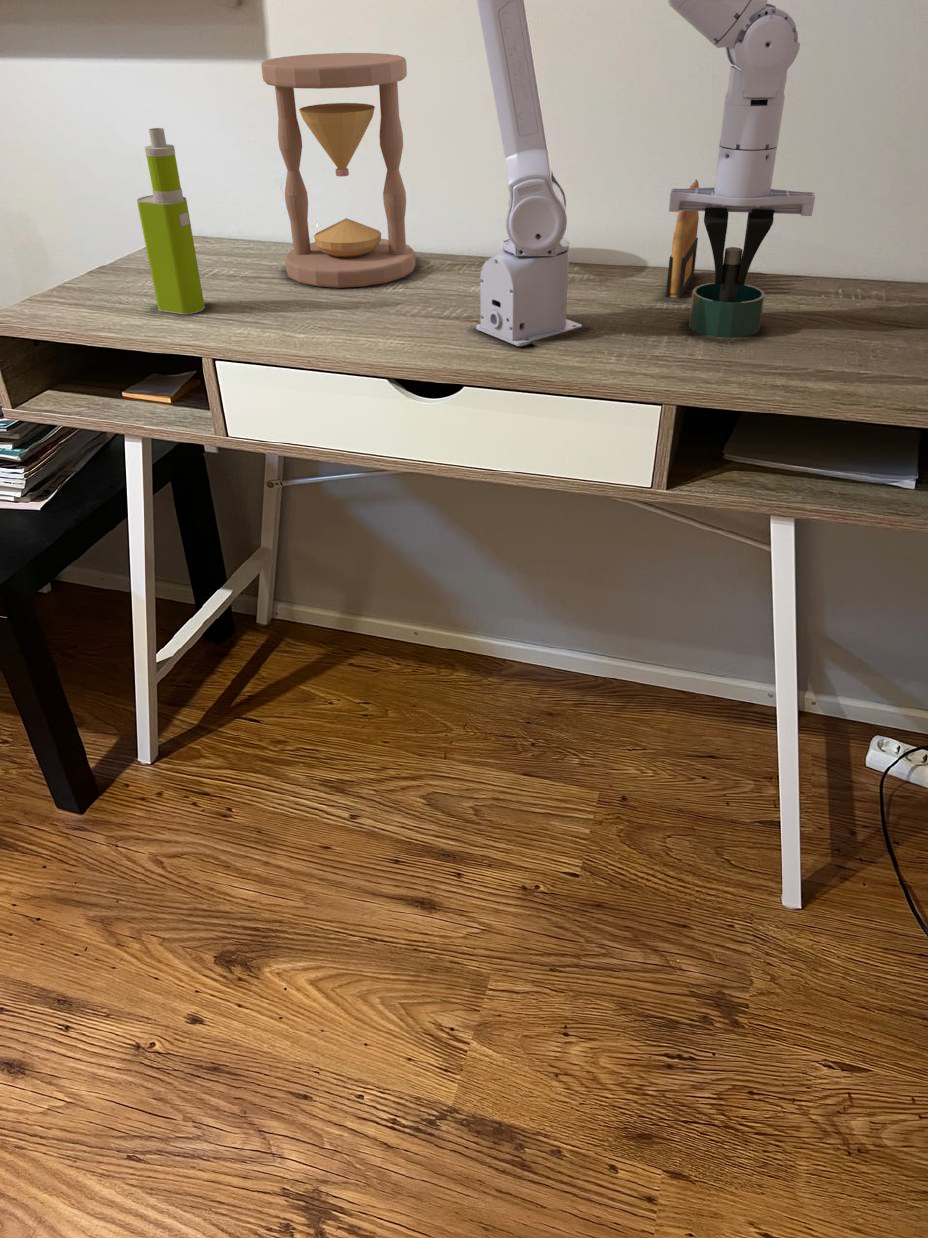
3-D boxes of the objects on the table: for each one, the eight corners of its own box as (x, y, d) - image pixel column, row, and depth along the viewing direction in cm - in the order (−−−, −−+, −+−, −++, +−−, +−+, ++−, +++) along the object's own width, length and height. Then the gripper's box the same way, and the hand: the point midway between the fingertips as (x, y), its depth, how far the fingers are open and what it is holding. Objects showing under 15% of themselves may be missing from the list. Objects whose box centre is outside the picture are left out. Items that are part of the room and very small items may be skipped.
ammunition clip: (680, 301, 118) (691, 196, 111) (664, 300, 119) (675, 195, 112) (693, 277, 126) (705, 178, 120) (679, 276, 127) (689, 177, 120)
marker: (724, 328, 108) (734, 252, 103) (712, 324, 109) (721, 248, 105) (735, 325, 109) (746, 249, 104) (722, 321, 110) (732, 245, 105)
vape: (191, 315, 118) (159, 132, 106) (153, 309, 120) (116, 129, 108) (211, 306, 120) (181, 127, 109) (172, 301, 122) (139, 124, 111)
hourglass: (263, 283, 128) (234, 65, 114) (318, 249, 142) (298, 51, 128) (389, 292, 124) (375, 67, 109) (432, 256, 137) (425, 52, 123)
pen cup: (745, 346, 105) (750, 306, 103) (677, 334, 109) (681, 296, 106) (768, 325, 110) (774, 288, 108) (703, 315, 114) (707, 278, 111)
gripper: (820, 140, 100) (797, 274, 108) (677, 137, 103) (664, 269, 111) (825, 152, 95) (800, 293, 103) (673, 149, 98) (660, 286, 105)
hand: (729, 282), depth 106 cm, fingers closed on marker, 2 cm apart
